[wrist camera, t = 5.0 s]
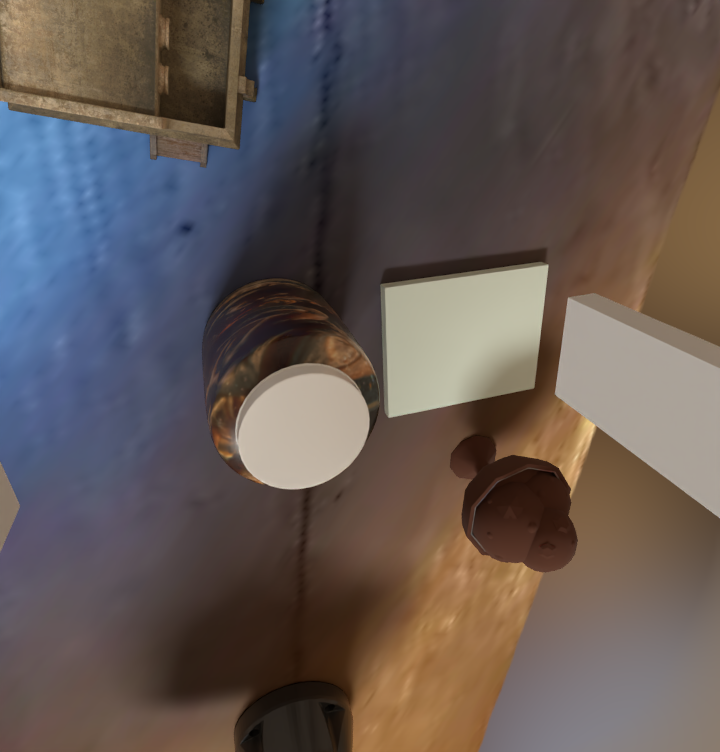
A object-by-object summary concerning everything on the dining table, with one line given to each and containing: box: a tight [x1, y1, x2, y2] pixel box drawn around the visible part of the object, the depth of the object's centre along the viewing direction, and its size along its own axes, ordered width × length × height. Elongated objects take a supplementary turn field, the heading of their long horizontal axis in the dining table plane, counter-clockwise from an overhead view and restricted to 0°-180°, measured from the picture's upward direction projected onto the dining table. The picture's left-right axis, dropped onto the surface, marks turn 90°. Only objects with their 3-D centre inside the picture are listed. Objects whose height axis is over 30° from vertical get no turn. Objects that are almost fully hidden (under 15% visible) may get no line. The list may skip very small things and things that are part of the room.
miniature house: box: [0, 0, 264, 168], centre depth 29 cm, size 15×14×11 cm
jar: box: [202, 278, 380, 489], centre depth 39 cm, size 12×12×15 cm
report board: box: [380, 262, 548, 418], centre depth 50 cm, size 16×13×1 cm
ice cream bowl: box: [450, 436, 578, 572], centre depth 51 cm, size 11×11×15 cm
